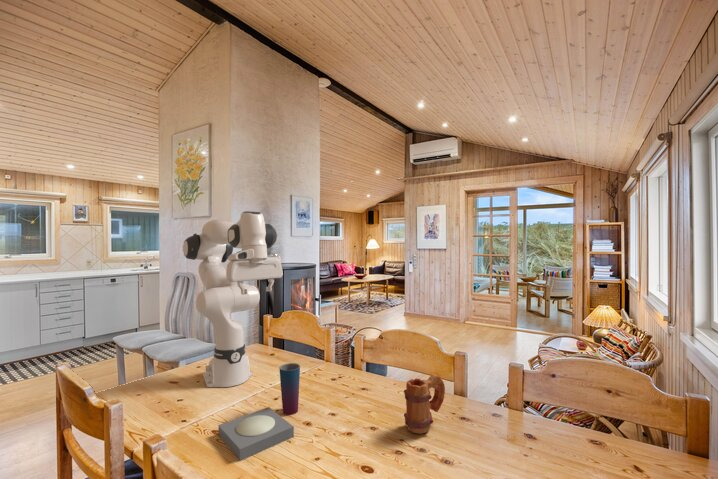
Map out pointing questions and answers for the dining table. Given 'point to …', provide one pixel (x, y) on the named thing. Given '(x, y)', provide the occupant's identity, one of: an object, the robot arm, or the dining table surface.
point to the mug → (422, 402)
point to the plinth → (255, 432)
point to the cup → (290, 387)
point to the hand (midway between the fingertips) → (256, 292)
